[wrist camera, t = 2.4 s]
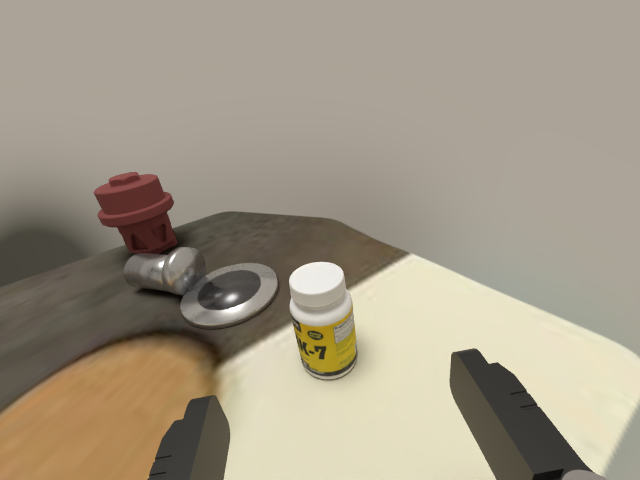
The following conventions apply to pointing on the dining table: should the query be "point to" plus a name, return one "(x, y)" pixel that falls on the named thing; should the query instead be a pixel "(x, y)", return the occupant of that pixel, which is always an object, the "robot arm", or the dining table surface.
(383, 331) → the dining table surface
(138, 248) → the mechanical component
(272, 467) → the dining table surface
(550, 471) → the robot arm
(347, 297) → the supplement bottle
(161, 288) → the flange fitting
